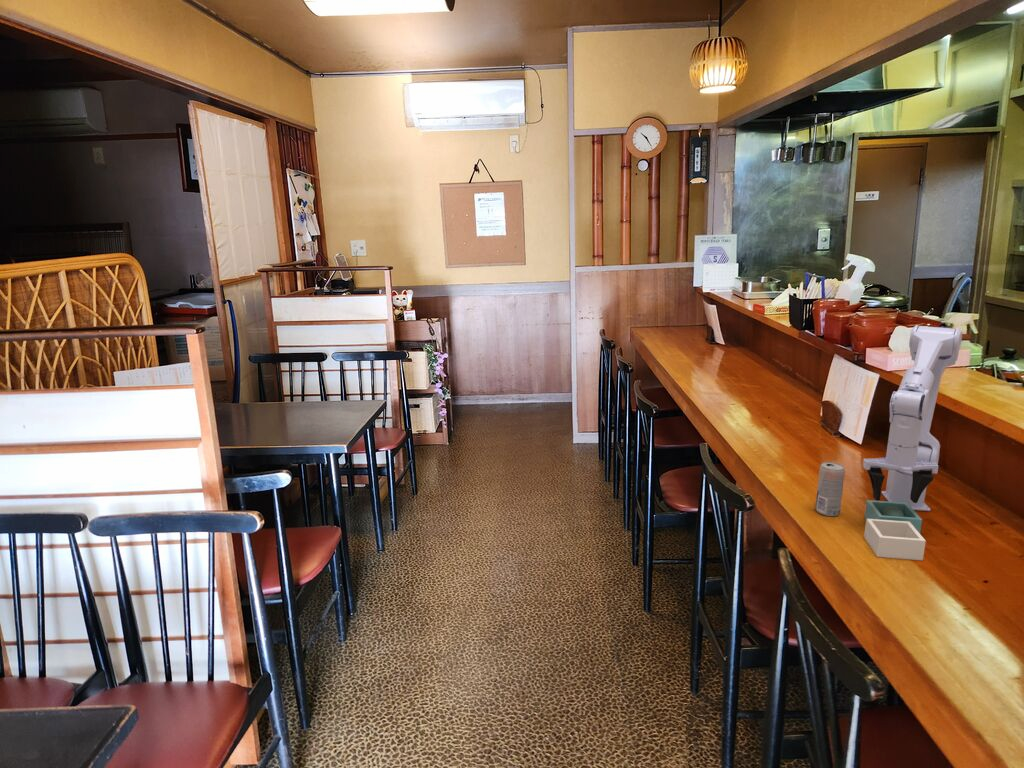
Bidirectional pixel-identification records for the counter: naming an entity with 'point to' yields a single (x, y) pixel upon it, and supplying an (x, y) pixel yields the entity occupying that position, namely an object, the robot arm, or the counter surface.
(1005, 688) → the counter surface
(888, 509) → the teal ball
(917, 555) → the shallow white tray
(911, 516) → the teal open square box
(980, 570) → the counter surface
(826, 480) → the energy drink
